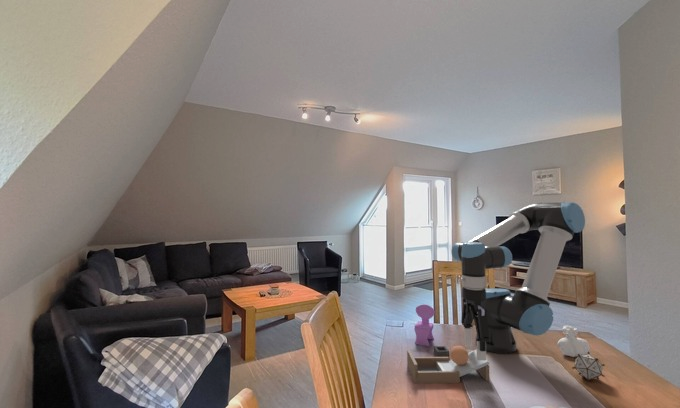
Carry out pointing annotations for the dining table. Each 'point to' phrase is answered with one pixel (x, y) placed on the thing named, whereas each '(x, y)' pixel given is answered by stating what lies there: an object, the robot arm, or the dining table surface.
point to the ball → (459, 355)
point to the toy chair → (424, 325)
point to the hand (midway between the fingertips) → (474, 352)
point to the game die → (588, 366)
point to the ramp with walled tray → (444, 368)
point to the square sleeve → (441, 351)
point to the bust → (573, 343)
